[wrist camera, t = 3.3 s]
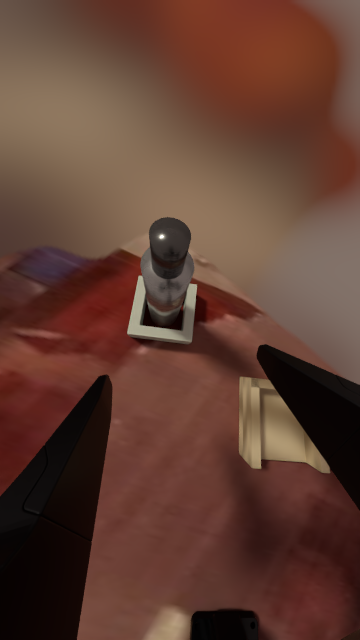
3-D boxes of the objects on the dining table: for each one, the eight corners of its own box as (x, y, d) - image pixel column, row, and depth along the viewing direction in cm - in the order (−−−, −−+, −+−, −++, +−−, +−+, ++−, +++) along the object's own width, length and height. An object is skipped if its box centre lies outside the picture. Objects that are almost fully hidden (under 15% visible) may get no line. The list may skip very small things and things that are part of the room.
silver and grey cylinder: (176, 328, 23) (201, 270, 9) (147, 324, 23) (128, 257, 9) (179, 302, 24) (206, 213, 10) (152, 298, 24) (141, 201, 10)
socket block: (188, 344, 23) (191, 341, 21) (130, 337, 22) (127, 333, 20) (193, 292, 25) (197, 284, 23) (141, 284, 25) (138, 275, 22)
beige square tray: (306, 458, 21) (330, 473, 18) (238, 453, 20) (252, 468, 17) (300, 383, 23) (319, 385, 20) (239, 376, 23) (251, 378, 20)
